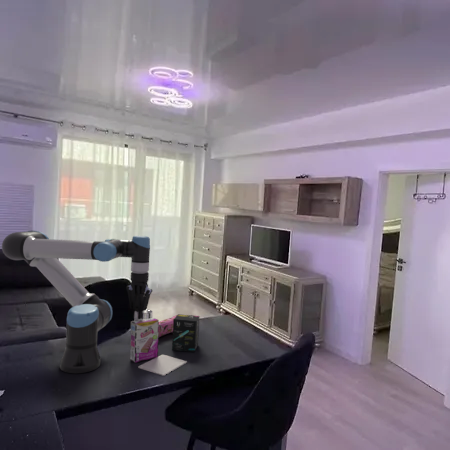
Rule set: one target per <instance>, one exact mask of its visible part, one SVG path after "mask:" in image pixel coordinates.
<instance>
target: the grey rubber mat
mask: <svg viewBox="0 0 450 450" xmlns="http://www.w3.org/2000/svg"><path fill="white" fill-rule="evenodd" d="M187 363H188V361H187V360H183V359H180V358H177V357H173V356H170V355H166V354H161V355H158V357H156V358H152V359H149V361H146V362H144V363H142V364H141V365H139V366H137V367H138V368H137V369H141V370H144V371H147V372H151V373H154V374H155V375H159V376H162V377H165V376H166V374H167V375H168V374H170V373H171V371H172V372H173V371H175V370H177V369H178V368H180V367H182V366H184V365H185V364H187Z"/></svg>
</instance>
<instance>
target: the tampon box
mask: <svg viewBox="0 0 450 450" xmlns="http://www.w3.org/2000/svg"><path fill="white" fill-rule="evenodd" d="M176 315H177V316H176ZM176 315H175V316H176V317H175V318H174V321H173V332H172V341H171V342H172V343H171V351H177V352H178V351H181V352H191V353H195V351H196V350H197V348H198V346H199V334H200V333H199V331H200V315H192V314H191V315H189V314H176Z"/></svg>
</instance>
